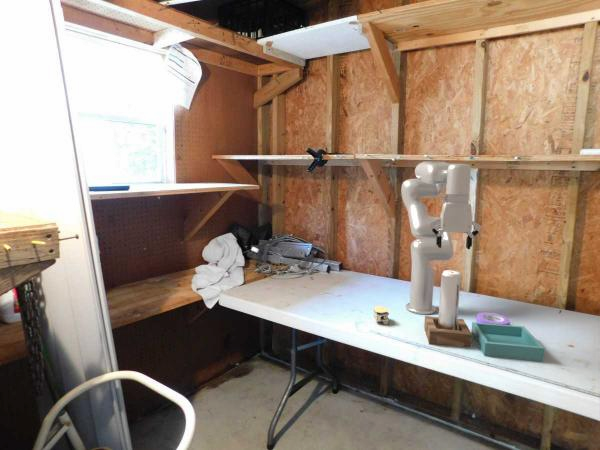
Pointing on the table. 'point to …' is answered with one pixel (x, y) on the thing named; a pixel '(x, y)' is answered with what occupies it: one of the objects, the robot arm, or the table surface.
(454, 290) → the silver tall rounded column
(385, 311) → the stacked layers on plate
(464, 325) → the socket block
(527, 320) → the table surface
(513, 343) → the tray
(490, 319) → the masking tape
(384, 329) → the table surface
